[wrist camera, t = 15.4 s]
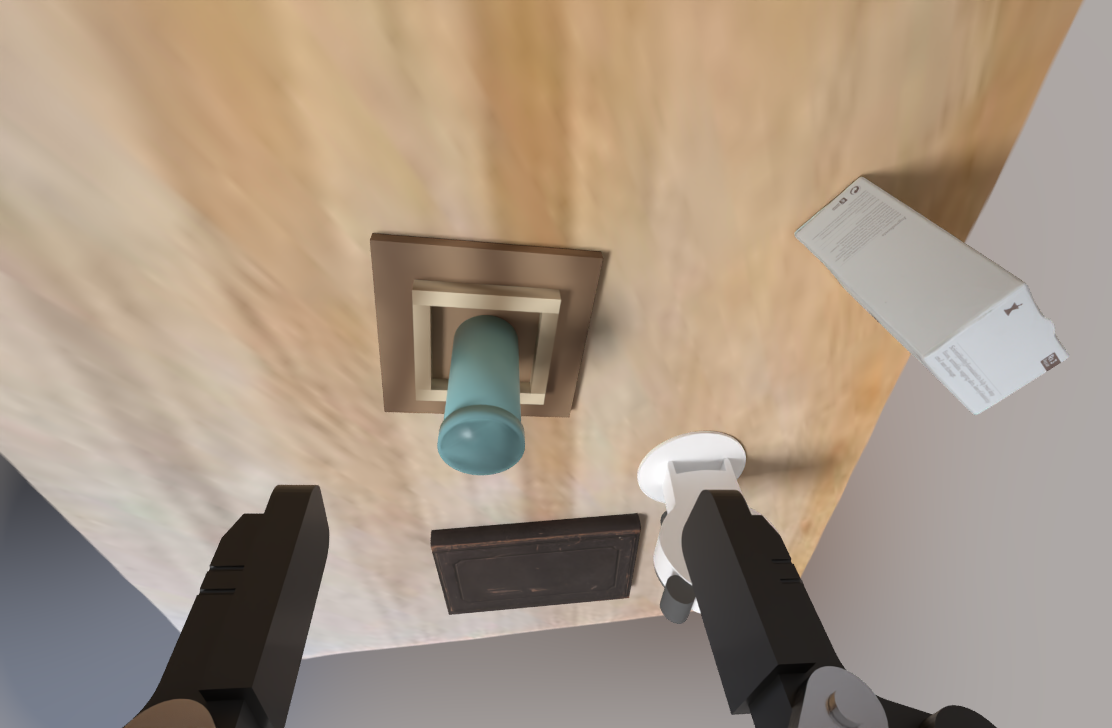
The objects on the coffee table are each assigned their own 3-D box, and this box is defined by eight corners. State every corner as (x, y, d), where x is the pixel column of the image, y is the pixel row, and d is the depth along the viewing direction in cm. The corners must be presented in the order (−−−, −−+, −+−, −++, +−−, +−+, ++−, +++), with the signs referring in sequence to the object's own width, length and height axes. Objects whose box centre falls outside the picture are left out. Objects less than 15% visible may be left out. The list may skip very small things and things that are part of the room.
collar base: (386, 403, 47) (382, 423, 45) (372, 233, 37) (366, 250, 35) (568, 409, 49) (571, 428, 47) (601, 251, 39) (606, 268, 37)
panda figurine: (625, 504, 60) (658, 645, 48) (638, 434, 52) (680, 579, 41) (730, 498, 61) (787, 634, 49) (757, 427, 53) (830, 568, 42)
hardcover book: (625, 581, 71) (629, 598, 70) (450, 597, 70) (449, 615, 68) (637, 508, 61) (641, 526, 59) (431, 525, 60) (429, 544, 58)
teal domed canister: (449, 365, 43) (435, 472, 35) (453, 309, 40) (439, 412, 32) (516, 371, 44) (518, 477, 36) (525, 316, 41) (530, 419, 32)
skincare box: (790, 232, 40) (911, 359, 28) (863, 169, 37) (1029, 280, 26) (847, 291, 44) (973, 423, 32) (917, 237, 41) (1081, 361, 30)
